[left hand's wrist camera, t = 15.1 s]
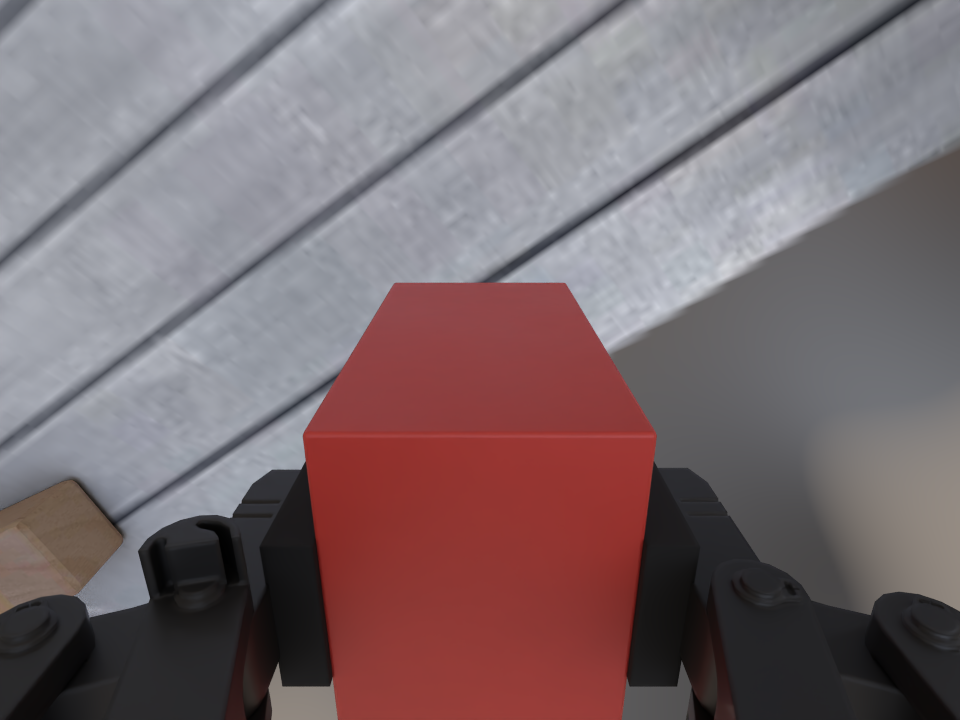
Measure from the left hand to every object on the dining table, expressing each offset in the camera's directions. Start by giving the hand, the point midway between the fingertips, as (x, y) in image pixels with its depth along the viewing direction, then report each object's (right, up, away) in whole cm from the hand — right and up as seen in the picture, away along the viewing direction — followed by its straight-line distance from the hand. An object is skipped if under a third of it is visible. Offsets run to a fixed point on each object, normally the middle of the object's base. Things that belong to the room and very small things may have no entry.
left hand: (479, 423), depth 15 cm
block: (0, +1, +2) cm, 3 cm away
